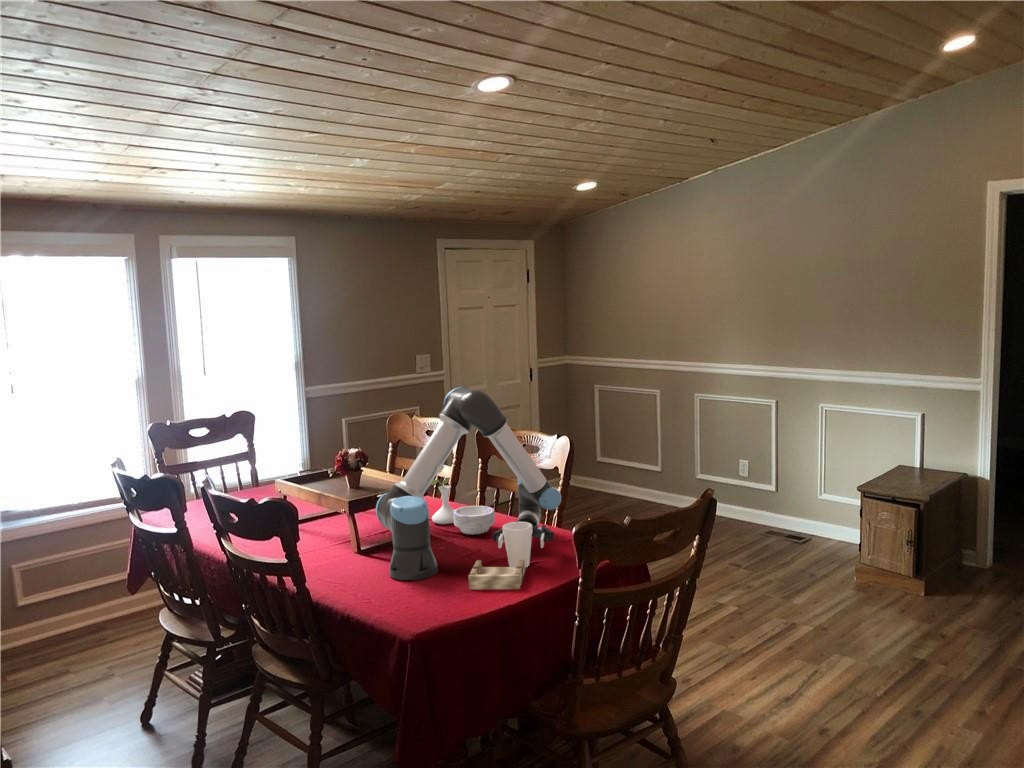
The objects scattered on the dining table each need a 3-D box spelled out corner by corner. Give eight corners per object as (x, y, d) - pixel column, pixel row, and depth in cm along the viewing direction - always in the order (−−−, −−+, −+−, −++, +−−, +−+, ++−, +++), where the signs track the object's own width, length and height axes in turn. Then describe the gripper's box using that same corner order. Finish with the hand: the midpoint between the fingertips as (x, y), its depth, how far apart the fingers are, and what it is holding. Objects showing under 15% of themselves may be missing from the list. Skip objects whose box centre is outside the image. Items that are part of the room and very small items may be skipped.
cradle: (468, 589, 236) (467, 576, 235) (477, 571, 250) (476, 559, 250) (520, 589, 234) (519, 576, 233) (526, 571, 248) (525, 559, 248)
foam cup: (531, 571, 249) (528, 530, 247) (502, 570, 250) (499, 530, 249) (536, 560, 258) (534, 521, 256) (508, 560, 260) (506, 521, 258)
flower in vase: (461, 517, 314) (457, 454, 311) (461, 525, 303) (457, 460, 300) (428, 519, 313) (424, 456, 310) (427, 527, 302) (422, 462, 299)
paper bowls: (504, 530, 294) (502, 509, 293) (472, 540, 284) (470, 518, 283) (477, 522, 305) (476, 502, 304) (446, 532, 295) (444, 511, 294)
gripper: (563, 534, 274) (560, 554, 253) (491, 535, 277) (482, 555, 256) (562, 513, 273) (559, 531, 252) (490, 514, 276) (481, 533, 255)
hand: (520, 543), depth 254 cm, fingers open, 13 cm apart
